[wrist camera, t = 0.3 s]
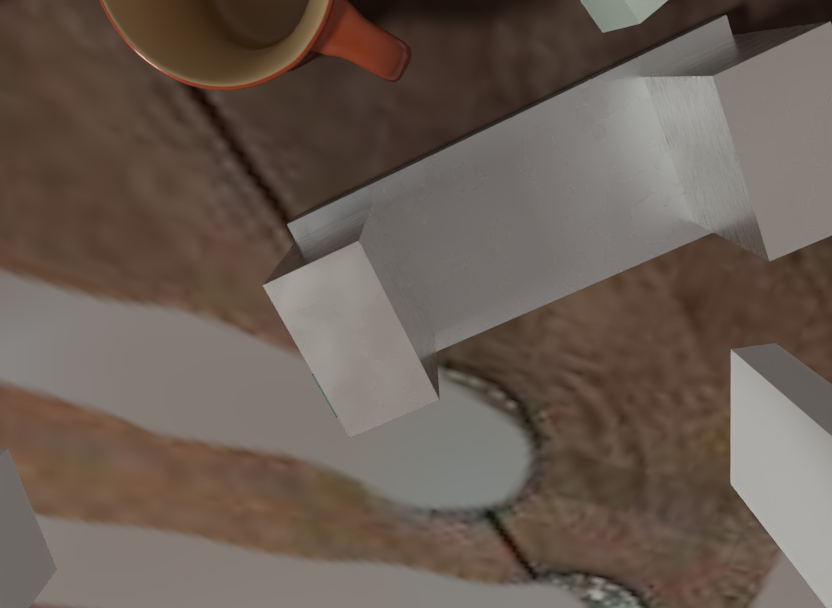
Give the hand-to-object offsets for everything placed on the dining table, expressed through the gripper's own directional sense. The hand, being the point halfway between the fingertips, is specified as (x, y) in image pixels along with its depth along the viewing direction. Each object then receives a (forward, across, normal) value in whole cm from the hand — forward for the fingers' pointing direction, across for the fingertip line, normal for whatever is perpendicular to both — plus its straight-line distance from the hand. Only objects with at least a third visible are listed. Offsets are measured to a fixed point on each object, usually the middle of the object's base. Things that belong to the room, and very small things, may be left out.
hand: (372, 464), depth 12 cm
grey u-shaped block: (+25, +7, -1) cm, 26 cm away
